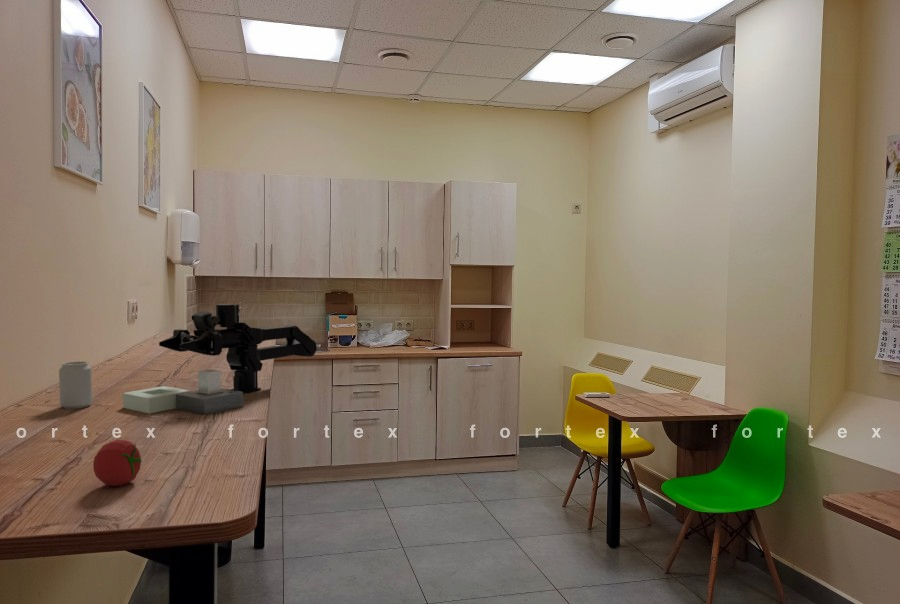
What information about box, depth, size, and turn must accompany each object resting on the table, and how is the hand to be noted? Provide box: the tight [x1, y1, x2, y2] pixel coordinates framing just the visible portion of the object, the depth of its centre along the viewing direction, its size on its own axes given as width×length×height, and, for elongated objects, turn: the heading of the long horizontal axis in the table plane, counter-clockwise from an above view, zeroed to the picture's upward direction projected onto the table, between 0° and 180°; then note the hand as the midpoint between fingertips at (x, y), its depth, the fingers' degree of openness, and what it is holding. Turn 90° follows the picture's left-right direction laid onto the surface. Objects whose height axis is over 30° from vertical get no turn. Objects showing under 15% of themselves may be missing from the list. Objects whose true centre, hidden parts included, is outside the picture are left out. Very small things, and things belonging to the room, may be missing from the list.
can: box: [58, 360, 93, 410], centre depth 167 cm, size 8×8×12 cm
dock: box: [122, 385, 191, 414], centre depth 168 cm, size 12×12×4 cm
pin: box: [197, 368, 222, 396], centre depth 167 cm, size 4×4×10 cm
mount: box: [175, 387, 244, 416], centre depth 167 cm, size 12×12×4 cm
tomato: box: [92, 439, 143, 487], centre depth 108 cm, size 8×8×8 cm
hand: (169, 345), depth 168 cm, fingers open, 9 cm apart
